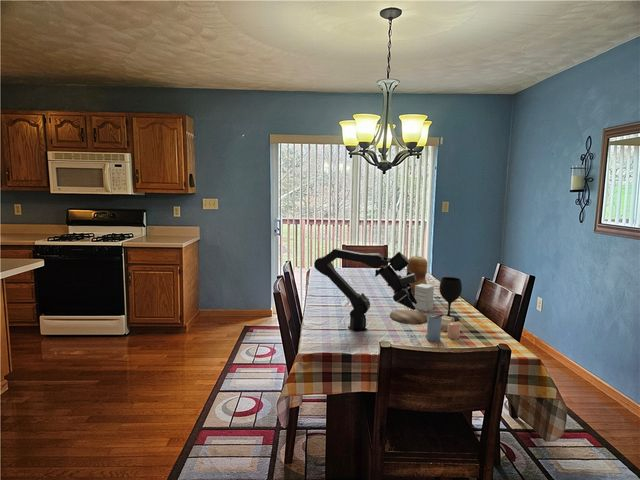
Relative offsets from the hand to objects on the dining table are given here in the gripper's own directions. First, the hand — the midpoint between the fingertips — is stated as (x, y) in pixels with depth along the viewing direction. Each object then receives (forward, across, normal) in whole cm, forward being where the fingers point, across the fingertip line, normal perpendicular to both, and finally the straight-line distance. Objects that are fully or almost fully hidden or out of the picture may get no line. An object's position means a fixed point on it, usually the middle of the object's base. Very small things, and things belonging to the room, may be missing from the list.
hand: (415, 306), depth 165 cm
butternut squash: (+6, +64, +13) cm, 66 cm away
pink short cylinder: (+21, +5, -3) cm, 22 cm away
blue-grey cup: (+15, -1, +3) cm, 16 cm away
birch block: (+19, +16, 0) cm, 25 cm away
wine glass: (+19, +32, -1) cm, 38 cm away
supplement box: (+10, +44, +9) cm, 47 cm away
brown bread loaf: (+6, +25, +13) cm, 29 cm away
